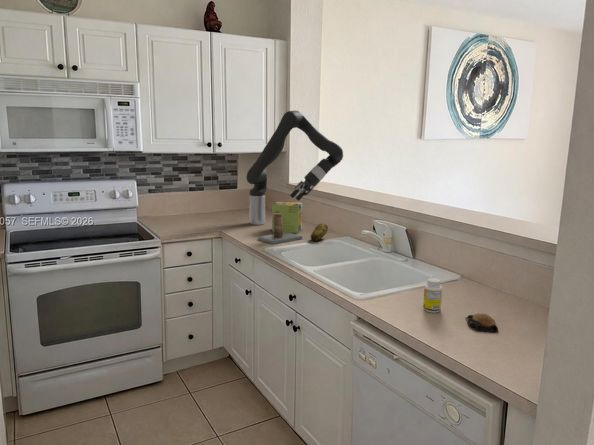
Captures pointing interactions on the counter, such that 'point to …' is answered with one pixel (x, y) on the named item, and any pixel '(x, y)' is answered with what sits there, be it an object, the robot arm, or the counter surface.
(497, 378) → the counter surface
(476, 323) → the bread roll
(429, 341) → the counter surface
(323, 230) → the potato
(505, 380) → the counter surface
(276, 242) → the slate board
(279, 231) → the walnut roller
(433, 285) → the supplement bottle
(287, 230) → the protein box
